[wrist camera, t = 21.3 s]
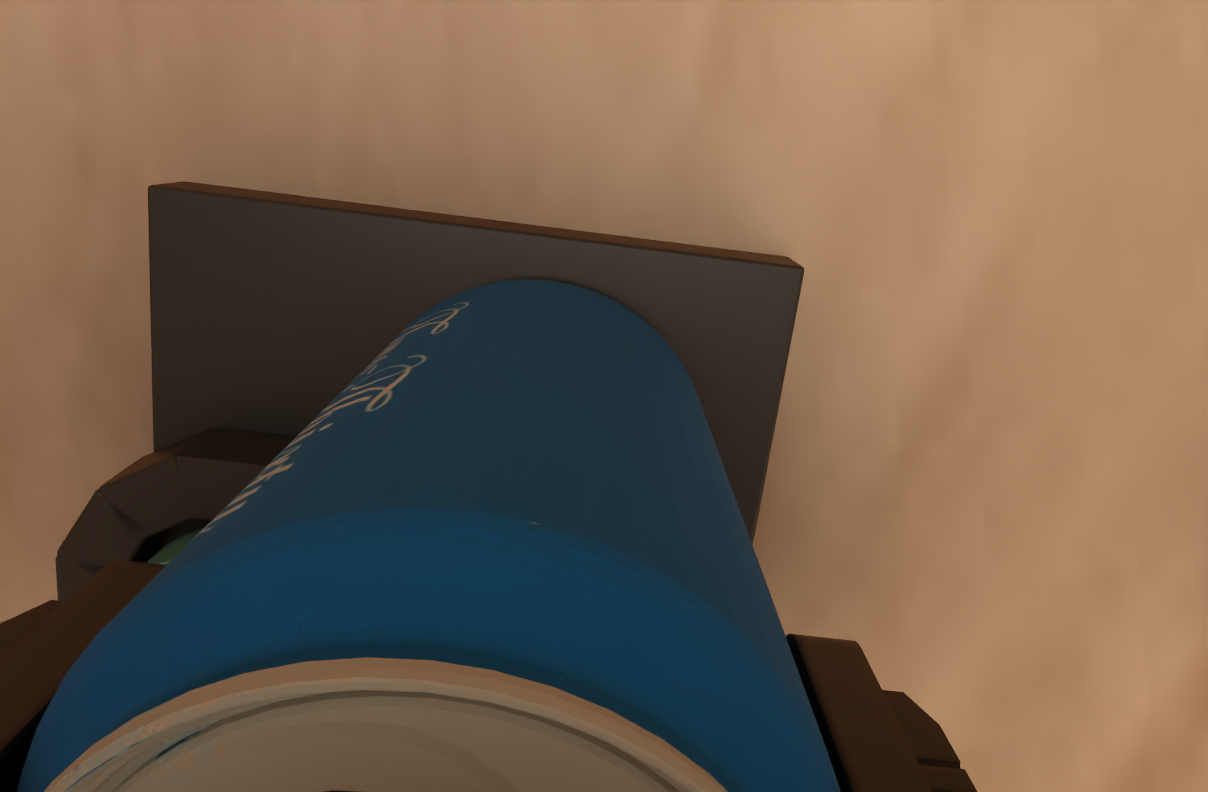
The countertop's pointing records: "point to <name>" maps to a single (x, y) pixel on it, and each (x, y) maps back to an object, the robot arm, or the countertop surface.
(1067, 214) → the countertop surface
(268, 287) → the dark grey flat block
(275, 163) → the countertop surface
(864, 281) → the countertop surface
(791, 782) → the beverage can
